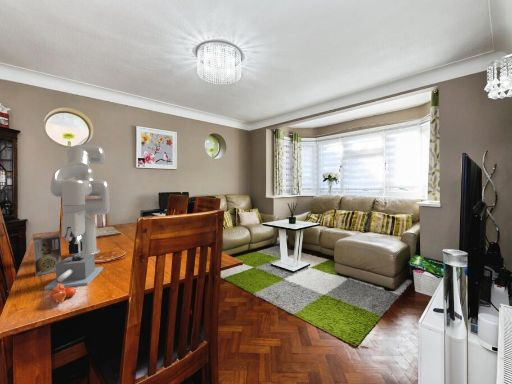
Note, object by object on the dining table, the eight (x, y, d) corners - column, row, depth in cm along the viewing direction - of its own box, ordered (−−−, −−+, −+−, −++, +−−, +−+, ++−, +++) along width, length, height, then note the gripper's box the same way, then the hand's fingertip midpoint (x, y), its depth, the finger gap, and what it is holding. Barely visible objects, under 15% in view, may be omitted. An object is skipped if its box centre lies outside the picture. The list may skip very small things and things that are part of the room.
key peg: (73, 261, 99) (72, 233, 98) (82, 260, 99) (81, 232, 99) (70, 263, 96) (69, 234, 95) (79, 262, 97) (77, 234, 96)
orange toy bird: (50, 279, 83) (53, 291, 74) (75, 280, 88) (80, 291, 79) (45, 294, 82) (47, 307, 73) (70, 294, 87) (75, 306, 78)
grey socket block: (67, 272, 105) (67, 254, 104) (103, 268, 109) (102, 252, 108) (37, 294, 84) (36, 273, 83) (83, 289, 88) (82, 268, 87)
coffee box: (61, 267, 111) (59, 233, 111) (62, 270, 107) (60, 236, 106) (34, 272, 105) (33, 237, 104) (35, 276, 100) (33, 239, 100)
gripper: (72, 207, 103) (74, 248, 104) (52, 211, 88) (54, 259, 89) (92, 207, 106) (93, 246, 106) (75, 210, 90) (77, 257, 91)
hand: (75, 251), depth 97 cm, fingers closed on key peg, 3 cm apart
